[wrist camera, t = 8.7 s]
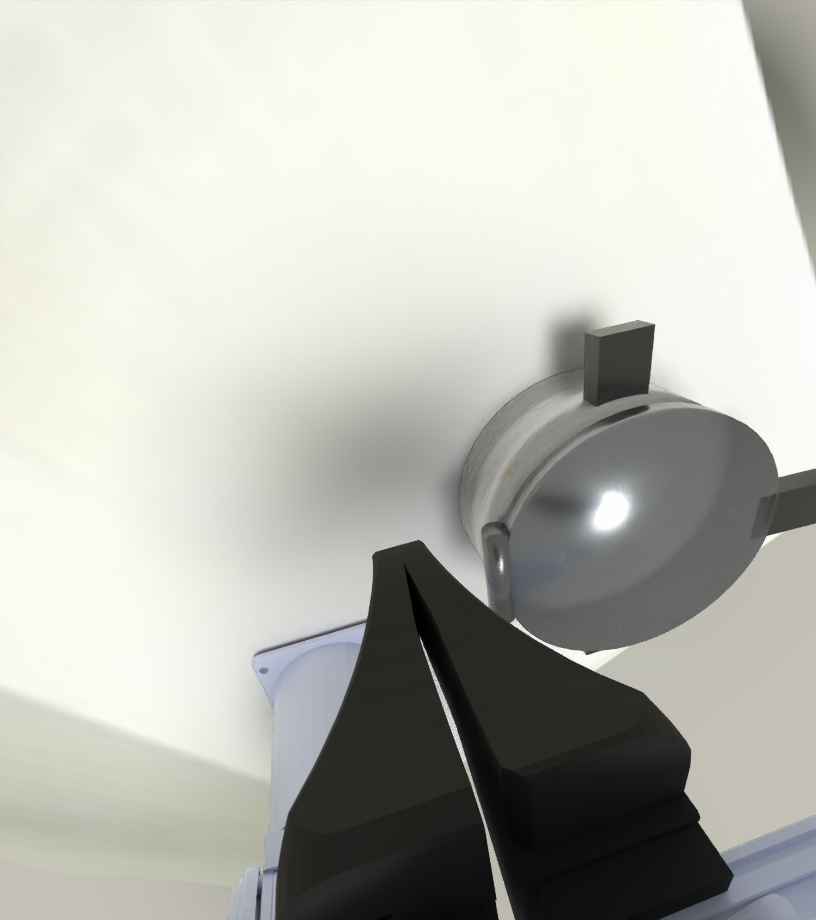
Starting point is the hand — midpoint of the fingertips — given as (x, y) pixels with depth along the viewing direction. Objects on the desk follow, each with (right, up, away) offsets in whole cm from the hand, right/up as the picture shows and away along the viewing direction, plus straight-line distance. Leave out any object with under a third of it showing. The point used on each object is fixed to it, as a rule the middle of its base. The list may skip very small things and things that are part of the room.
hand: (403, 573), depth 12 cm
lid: (+12, 0, +9) cm, 15 cm away
